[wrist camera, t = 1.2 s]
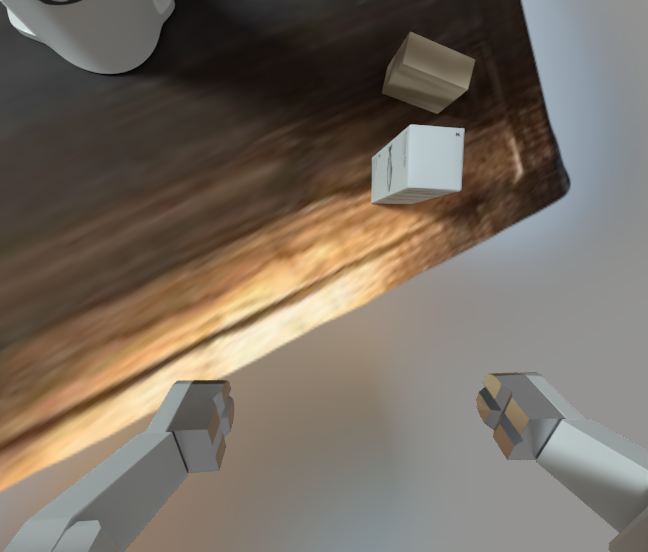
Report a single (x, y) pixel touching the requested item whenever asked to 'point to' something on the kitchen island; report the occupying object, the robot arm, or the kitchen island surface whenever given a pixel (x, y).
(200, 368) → the kitchen island surface
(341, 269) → the kitchen island surface
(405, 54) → the block
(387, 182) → the supplement box
